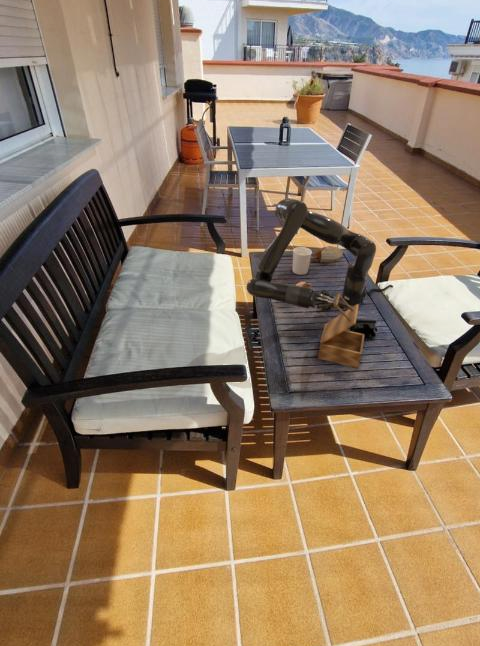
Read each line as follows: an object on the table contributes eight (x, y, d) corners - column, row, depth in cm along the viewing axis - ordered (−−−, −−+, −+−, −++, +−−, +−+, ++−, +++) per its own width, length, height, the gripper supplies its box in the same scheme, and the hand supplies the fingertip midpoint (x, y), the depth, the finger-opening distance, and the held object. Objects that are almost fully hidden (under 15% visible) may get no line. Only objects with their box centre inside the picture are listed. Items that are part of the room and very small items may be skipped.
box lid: (358, 305, 149) (342, 287, 147) (355, 323, 139) (337, 305, 137) (326, 325, 158) (310, 308, 156) (321, 344, 148) (304, 326, 146)
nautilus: (305, 266, 215) (302, 255, 228) (344, 265, 215) (339, 254, 228) (306, 253, 211) (303, 242, 224) (346, 252, 211) (340, 241, 224)
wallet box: (360, 348, 159) (364, 334, 155) (357, 368, 149) (361, 354, 145) (323, 339, 162) (325, 325, 158) (317, 358, 153) (320, 344, 148)
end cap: (370, 329, 170) (374, 316, 166) (375, 339, 164) (379, 326, 160) (348, 328, 169) (351, 316, 165) (351, 339, 163) (355, 326, 160)
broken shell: (315, 302, 186) (306, 294, 179) (296, 306, 191) (287, 298, 184) (314, 285, 190) (306, 277, 182) (296, 289, 195) (287, 281, 188)
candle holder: (309, 276, 206) (312, 255, 199) (291, 275, 205) (293, 254, 199) (308, 267, 214) (310, 247, 207) (290, 266, 214) (292, 246, 207)
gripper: (295, 296, 140) (344, 307, 136) (303, 279, 150) (348, 288, 146) (293, 313, 144) (340, 324, 140) (301, 295, 155) (344, 304, 151)
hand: (344, 306), depth 143 cm, fingers closed
